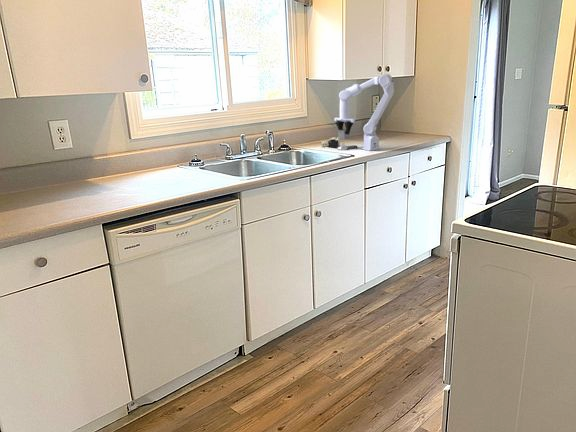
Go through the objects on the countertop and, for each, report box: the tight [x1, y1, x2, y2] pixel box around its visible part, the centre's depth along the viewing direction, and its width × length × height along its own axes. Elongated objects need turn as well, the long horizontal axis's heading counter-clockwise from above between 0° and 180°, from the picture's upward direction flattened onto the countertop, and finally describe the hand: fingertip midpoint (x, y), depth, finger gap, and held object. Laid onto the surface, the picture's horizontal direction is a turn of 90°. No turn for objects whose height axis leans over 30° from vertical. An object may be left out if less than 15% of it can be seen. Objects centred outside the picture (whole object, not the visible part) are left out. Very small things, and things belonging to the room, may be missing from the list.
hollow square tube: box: [337, 128, 351, 140], centre depth 281 cm, size 5×5×5 cm
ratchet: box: [336, 142, 358, 151], centre depth 282 cm, size 13×6×4 cm, turn 118°
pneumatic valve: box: [321, 136, 342, 149], centre depth 292 cm, size 6×12×12 cm
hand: (344, 133), depth 282 cm, fingers closed on hollow square tube, 5 cm apart
